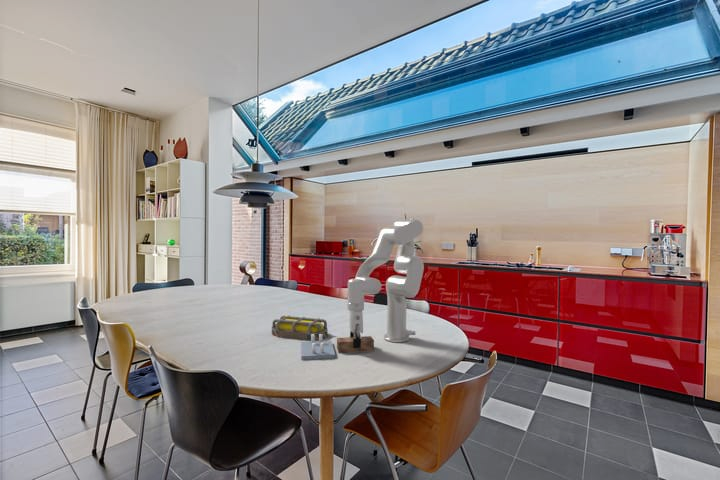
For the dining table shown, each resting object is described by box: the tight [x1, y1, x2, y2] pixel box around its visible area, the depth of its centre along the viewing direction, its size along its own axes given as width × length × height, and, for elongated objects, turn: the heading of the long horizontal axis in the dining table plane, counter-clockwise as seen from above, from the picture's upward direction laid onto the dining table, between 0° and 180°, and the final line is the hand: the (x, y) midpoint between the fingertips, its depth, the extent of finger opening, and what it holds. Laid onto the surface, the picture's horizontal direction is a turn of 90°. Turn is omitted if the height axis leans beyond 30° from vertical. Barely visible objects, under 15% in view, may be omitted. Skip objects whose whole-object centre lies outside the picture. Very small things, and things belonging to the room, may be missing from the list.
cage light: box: [271, 315, 329, 341], centre depth 170 cm, size 15×8×30 cm
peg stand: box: [300, 334, 336, 361], centre depth 145 cm, size 14×18×6 cm
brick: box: [336, 335, 375, 354], centre depth 148 cm, size 16×6×5 cm, turn 102°
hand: (355, 343), depth 148 cm, fingers open, 9 cm apart
